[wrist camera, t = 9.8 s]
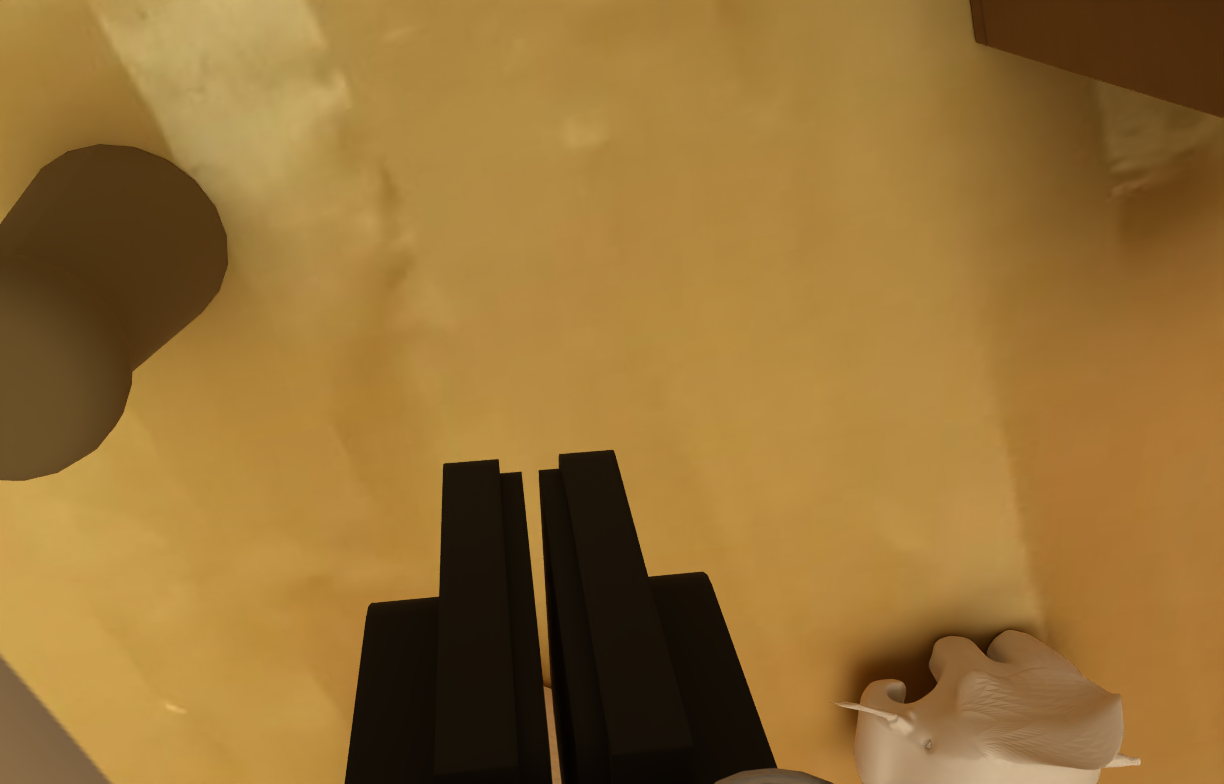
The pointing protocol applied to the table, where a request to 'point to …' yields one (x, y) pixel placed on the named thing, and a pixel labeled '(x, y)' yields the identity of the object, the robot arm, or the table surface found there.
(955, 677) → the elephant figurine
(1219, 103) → the chest
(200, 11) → the table surface
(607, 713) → the robot arm
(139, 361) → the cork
